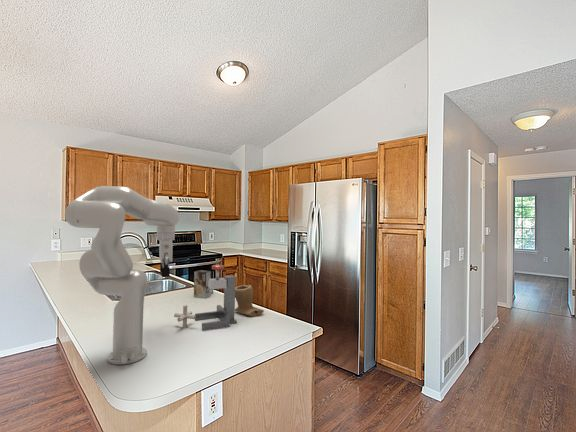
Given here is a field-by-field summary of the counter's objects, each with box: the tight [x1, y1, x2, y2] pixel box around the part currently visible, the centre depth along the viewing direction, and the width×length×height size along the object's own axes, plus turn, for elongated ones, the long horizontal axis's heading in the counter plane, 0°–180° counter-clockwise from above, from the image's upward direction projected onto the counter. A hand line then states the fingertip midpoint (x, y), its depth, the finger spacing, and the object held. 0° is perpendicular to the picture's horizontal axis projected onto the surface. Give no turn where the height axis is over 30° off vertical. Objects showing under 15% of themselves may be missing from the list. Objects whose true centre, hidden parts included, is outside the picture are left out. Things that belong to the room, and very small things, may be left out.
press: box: [194, 274, 238, 332], centre depth 149 cm, size 16×17×22 cm
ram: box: [208, 264, 226, 295], centre depth 149 cm, size 6×7×13 cm
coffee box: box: [193, 269, 212, 299], centre depth 196 cm, size 9×6×16 cm
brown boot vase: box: [235, 284, 265, 317], centre depth 164 cm, size 15×12×15 cm
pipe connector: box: [173, 304, 196, 329], centre depth 142 cm, size 10×10×10 cm
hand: (164, 274), depth 138 cm, fingers open, 9 cm apart
